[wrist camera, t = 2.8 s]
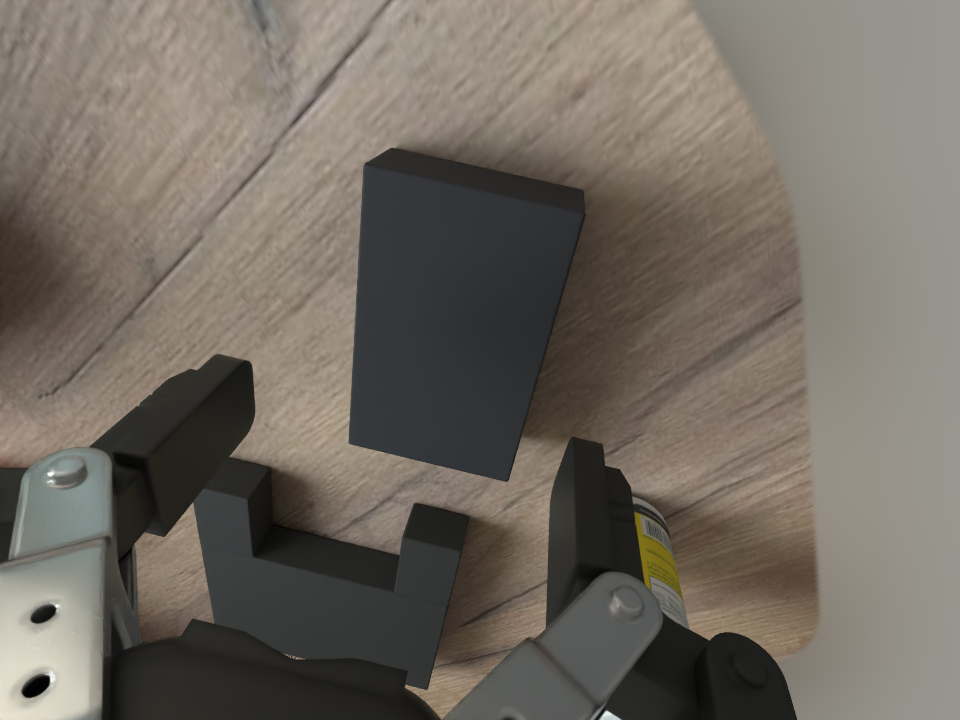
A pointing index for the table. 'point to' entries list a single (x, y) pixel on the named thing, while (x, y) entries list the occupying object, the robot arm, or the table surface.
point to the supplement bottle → (657, 565)
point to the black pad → (326, 579)
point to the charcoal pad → (455, 307)
